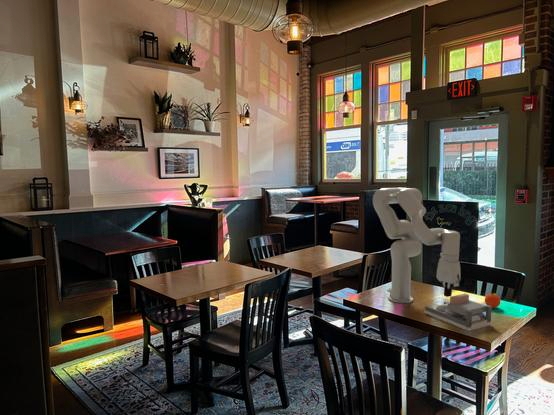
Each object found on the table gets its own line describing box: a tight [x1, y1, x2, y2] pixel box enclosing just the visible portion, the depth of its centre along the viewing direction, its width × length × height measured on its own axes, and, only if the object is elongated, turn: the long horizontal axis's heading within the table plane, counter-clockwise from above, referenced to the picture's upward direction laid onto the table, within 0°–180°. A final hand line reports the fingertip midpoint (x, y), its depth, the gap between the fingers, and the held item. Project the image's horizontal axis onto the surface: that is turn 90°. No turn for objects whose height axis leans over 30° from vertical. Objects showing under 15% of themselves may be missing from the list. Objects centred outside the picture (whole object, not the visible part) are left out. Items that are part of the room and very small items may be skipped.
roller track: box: [424, 300, 493, 332], centre depth 188 cm, size 24×15×8 cm, turn 28°
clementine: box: [484, 293, 501, 309], centre depth 203 cm, size 8×7×7 cm
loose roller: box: [463, 312, 486, 323], centre depth 180 cm, size 4×9×4 cm, turn 117°
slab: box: [447, 293, 487, 316], centre depth 183 cm, size 10×13×6 cm
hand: (447, 295), depth 192 cm, fingers closed
